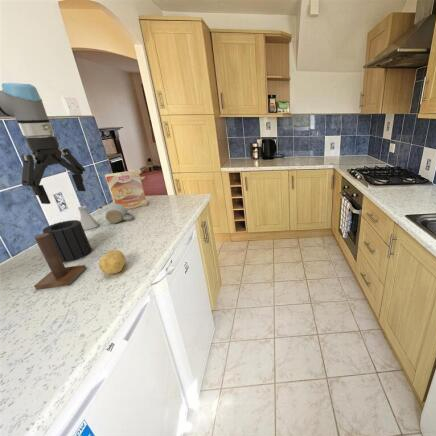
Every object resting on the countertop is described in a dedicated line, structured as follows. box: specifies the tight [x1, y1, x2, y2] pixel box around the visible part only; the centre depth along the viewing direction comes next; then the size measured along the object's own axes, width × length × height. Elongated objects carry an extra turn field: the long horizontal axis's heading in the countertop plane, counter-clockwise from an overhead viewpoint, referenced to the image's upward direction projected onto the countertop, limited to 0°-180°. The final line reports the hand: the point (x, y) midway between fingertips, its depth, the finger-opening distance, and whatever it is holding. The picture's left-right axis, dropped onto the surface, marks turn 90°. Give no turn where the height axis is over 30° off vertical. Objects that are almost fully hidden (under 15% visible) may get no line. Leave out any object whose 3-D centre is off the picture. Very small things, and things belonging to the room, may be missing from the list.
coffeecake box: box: [104, 169, 148, 210], centre depth 134 cm, size 15×7×20 cm, turn 132°
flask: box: [77, 205, 100, 231], centre depth 112 cm, size 7×7×10 cm
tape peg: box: [33, 233, 87, 290], centre depth 74 cm, size 9×9×16 cm
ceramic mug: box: [105, 203, 135, 224], centre depth 119 cm, size 11×8×8 cm
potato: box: [98, 249, 127, 275], centre depth 80 cm, size 7×11×6 cm, turn 22°
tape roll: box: [42, 219, 93, 263], centre depth 88 cm, size 10×10×12 cm
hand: (65, 196), depth 89 cm, fingers open, 13 cm apart
